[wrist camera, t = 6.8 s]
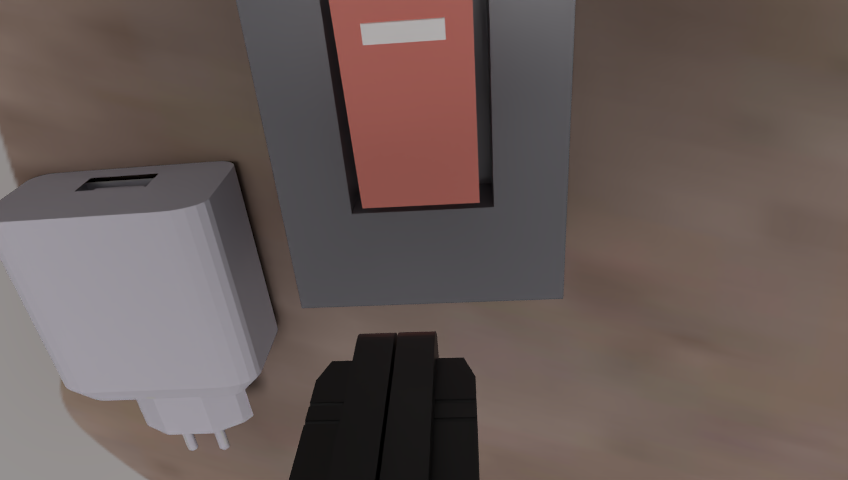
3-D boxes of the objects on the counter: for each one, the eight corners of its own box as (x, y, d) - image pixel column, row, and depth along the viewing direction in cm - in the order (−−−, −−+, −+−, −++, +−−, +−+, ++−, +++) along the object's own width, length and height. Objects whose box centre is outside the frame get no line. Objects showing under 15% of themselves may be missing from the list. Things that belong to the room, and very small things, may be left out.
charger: (145, 415, 35) (37, 171, 28) (305, 410, 34) (239, 156, 27) (104, 487, 31) (-35, 223, 24) (285, 482, 30) (200, 207, 23)
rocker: (336, -18, 19) (327, -3, 17) (470, -29, 18) (472, -14, 17) (367, 184, 23) (361, 209, 21) (478, 179, 22) (479, 204, 21)
